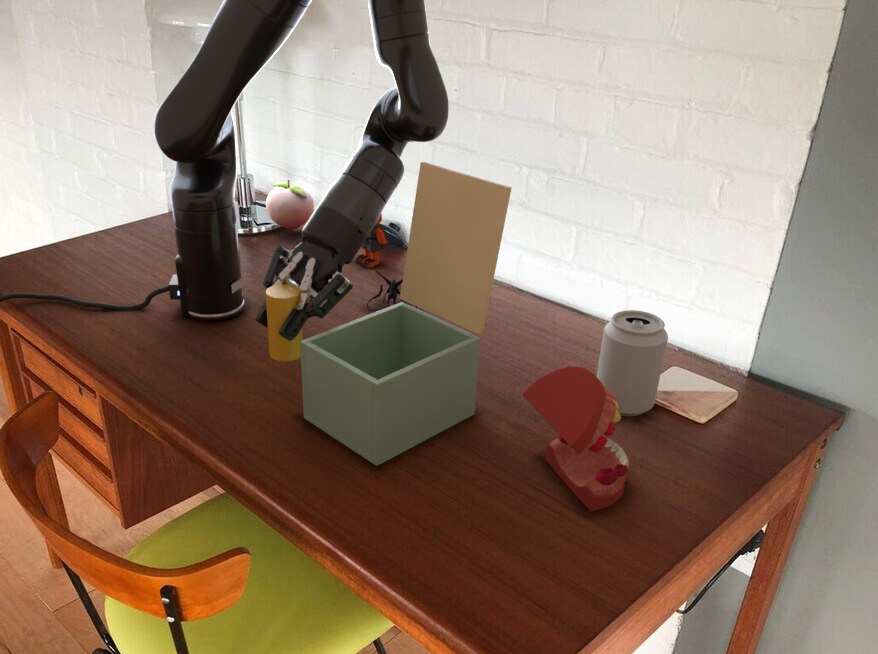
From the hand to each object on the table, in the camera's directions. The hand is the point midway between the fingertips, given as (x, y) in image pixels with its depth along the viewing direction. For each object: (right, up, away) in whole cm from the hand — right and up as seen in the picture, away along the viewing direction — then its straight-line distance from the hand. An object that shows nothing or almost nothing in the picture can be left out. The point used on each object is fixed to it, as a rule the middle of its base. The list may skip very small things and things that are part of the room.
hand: (273, 330), depth 106 cm
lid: (+22, +9, -7) cm, 25 cm away
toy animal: (+11, +14, +41) cm, 44 cm away
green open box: (+15, -11, -3) cm, 19 cm away
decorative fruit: (-3, +23, +55) cm, 59 cm away
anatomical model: (+35, -18, -14) cm, 42 cm away
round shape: (+1, +1, +1) cm, 2 cm away
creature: (+16, +5, +25) cm, 30 cm away
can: (+45, -10, 0) cm, 46 cm away
